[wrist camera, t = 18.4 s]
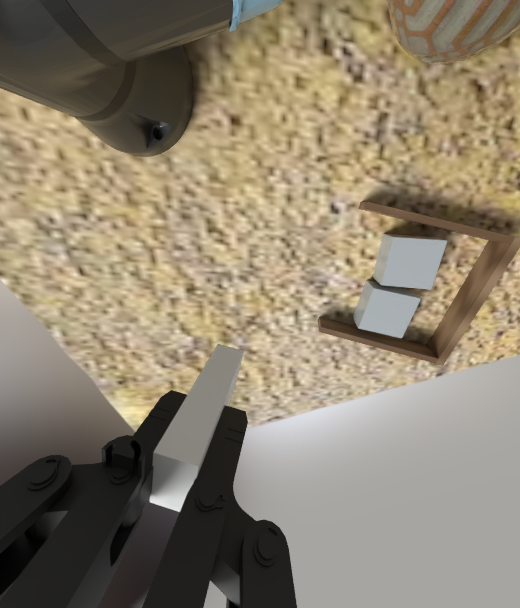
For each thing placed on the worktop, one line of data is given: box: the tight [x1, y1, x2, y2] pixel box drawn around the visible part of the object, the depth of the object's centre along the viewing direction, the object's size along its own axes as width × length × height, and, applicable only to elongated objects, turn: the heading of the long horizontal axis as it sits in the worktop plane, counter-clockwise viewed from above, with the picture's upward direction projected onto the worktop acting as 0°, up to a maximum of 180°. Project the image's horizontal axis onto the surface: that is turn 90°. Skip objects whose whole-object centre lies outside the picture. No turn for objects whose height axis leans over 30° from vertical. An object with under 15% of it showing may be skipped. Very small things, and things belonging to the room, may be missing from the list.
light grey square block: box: [373, 234, 447, 290], centre depth 32 cm, size 6×6×4 cm
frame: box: [318, 202, 520, 365], centre depth 33 cm, size 18×18×4 cm
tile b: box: [353, 280, 421, 338], centre depth 34 cm, size 6×6×4 cm
